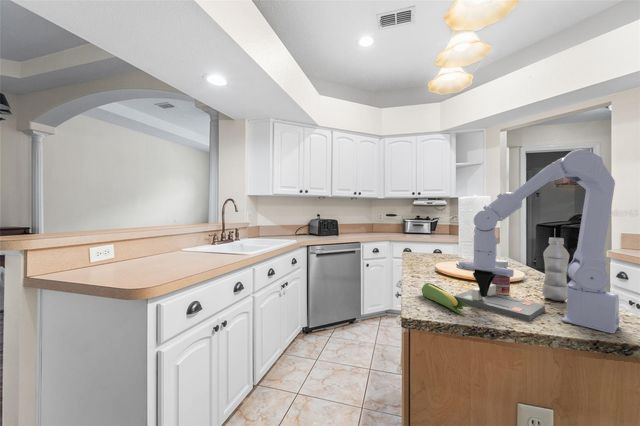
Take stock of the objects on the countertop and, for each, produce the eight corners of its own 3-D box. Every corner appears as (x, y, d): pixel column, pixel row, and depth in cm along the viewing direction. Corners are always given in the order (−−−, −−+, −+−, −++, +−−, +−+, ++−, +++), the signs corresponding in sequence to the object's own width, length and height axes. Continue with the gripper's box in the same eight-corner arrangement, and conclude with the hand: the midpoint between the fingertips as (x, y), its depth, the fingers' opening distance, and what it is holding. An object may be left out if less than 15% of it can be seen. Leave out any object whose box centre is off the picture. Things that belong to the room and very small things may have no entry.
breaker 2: (495, 293, 90) (495, 284, 90) (490, 295, 88) (491, 286, 88) (489, 292, 91) (489, 283, 91) (484, 294, 89) (484, 285, 89)
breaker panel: (544, 310, 80) (544, 304, 80) (529, 321, 72) (529, 315, 72) (472, 293, 96) (472, 288, 96) (453, 300, 88) (453, 295, 88)
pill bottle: (514, 295, 95) (514, 261, 95) (497, 295, 94) (498, 262, 94) (500, 289, 101) (500, 258, 101) (484, 290, 100) (485, 259, 100)
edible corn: (431, 294, 96) (431, 281, 96) (473, 316, 76) (473, 300, 76) (417, 295, 95) (417, 282, 95) (456, 318, 75) (456, 301, 75)
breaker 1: (483, 298, 85) (483, 288, 85) (478, 300, 83) (478, 290, 83) (477, 296, 87) (477, 287, 87) (472, 298, 85) (472, 289, 85)
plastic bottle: (557, 297, 93) (559, 237, 93) (574, 303, 86) (575, 239, 86) (537, 296, 94) (538, 236, 93) (551, 303, 87) (553, 239, 86)
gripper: (453, 249, 87) (453, 292, 87) (506, 255, 75) (506, 305, 75) (464, 247, 91) (464, 288, 91) (516, 253, 79) (515, 300, 80)
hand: (483, 296), depth 84 cm, fingers closed
